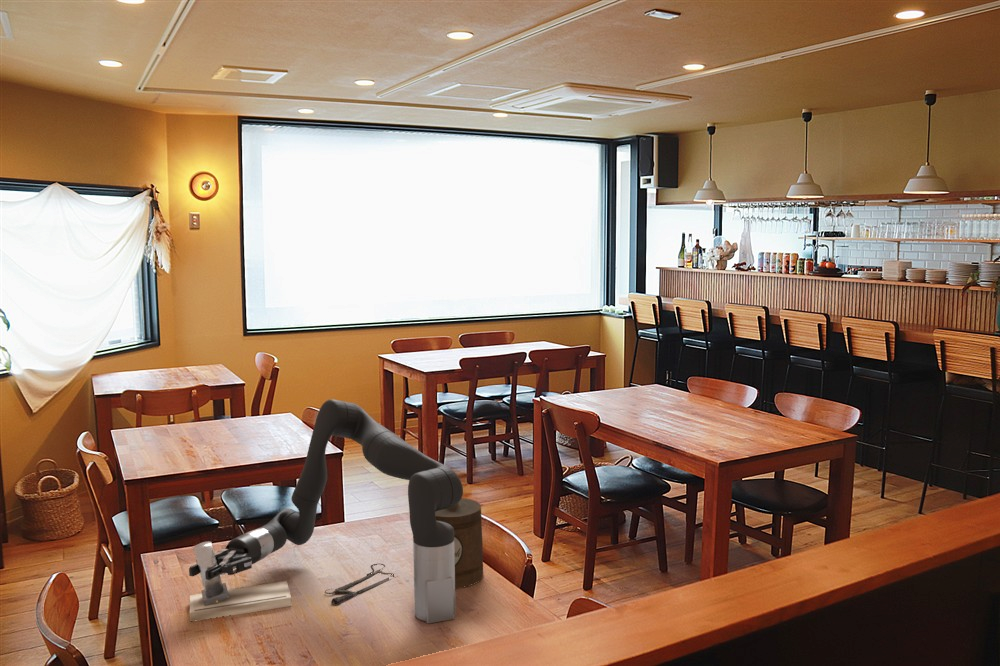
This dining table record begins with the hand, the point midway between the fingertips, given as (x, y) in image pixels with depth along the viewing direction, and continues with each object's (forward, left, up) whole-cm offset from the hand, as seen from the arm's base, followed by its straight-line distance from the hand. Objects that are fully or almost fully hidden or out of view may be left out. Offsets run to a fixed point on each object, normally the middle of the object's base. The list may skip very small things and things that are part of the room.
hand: (198, 573), depth 187 cm
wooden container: (-1, -60, -10) cm, 61 cm away
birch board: (+2, -9, -10) cm, 13 cm away
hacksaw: (+4, -37, -10) cm, 38 cm away
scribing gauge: (+2, -3, -7) cm, 8 cm away
